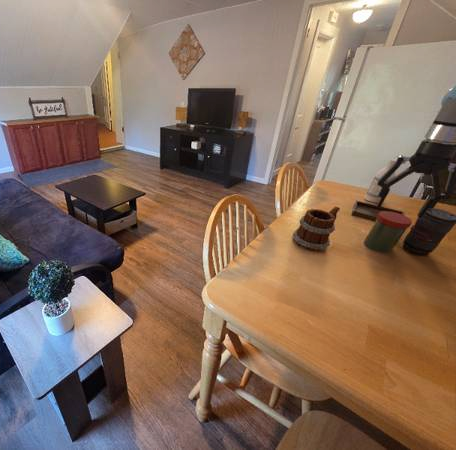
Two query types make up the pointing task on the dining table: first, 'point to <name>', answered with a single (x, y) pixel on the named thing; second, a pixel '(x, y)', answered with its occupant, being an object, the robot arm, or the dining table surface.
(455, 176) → the robot arm
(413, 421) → the dining table surface
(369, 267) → the dining table surface
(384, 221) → the lid
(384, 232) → the jar
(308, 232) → the mug
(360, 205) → the tray
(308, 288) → the dining table surface
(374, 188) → the bath foam
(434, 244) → the camera lens
